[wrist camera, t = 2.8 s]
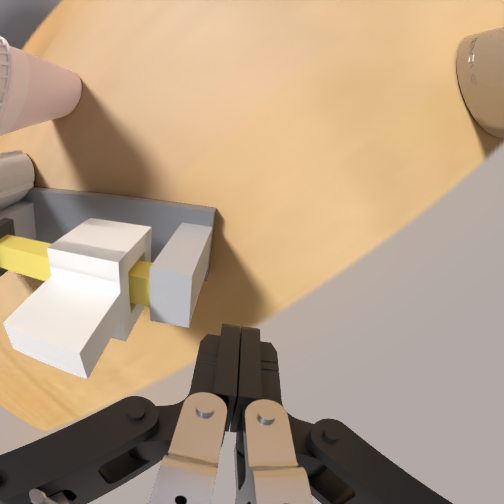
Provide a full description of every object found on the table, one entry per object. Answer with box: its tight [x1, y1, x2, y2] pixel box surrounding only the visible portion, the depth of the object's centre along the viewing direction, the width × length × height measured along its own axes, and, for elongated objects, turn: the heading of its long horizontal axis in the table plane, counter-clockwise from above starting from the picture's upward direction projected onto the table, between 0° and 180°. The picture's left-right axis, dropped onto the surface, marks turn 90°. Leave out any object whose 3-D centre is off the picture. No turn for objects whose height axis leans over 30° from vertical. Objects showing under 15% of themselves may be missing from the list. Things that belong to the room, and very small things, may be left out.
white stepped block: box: [4, 218, 152, 379], centre depth 12 cm, size 4×4×8 cm
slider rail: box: [0, 187, 216, 328], centre depth 16 cm, size 17×5×8 cm, turn 81°
